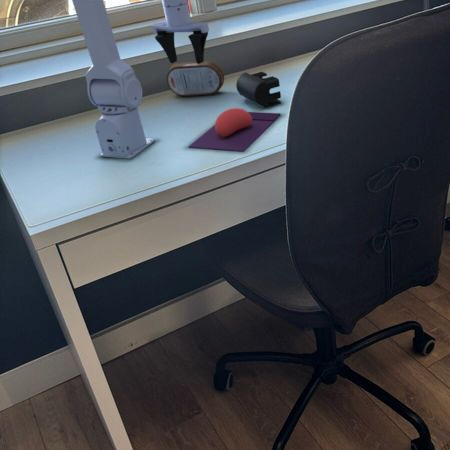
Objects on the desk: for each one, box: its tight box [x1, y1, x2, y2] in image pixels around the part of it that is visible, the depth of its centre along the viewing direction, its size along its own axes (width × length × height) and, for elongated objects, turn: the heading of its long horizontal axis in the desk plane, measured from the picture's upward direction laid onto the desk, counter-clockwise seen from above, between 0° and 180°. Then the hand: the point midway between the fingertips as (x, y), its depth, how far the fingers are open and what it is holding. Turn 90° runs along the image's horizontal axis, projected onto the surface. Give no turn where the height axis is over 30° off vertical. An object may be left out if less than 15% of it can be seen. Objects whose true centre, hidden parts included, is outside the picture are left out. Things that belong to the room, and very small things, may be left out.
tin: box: [165, 60, 225, 97], centre depth 147 cm, size 15×3×8 cm, turn 84°
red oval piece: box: [214, 107, 252, 137], centre depth 123 cm, size 5×9×6 cm, turn 126°
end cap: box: [235, 71, 282, 109], centre depth 137 cm, size 10×7×7 cm
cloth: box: [188, 111, 282, 153], centre depth 125 cm, size 20×13×1 cm, turn 159°
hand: (187, 62), depth 139 cm, fingers open, 7 cm apart
